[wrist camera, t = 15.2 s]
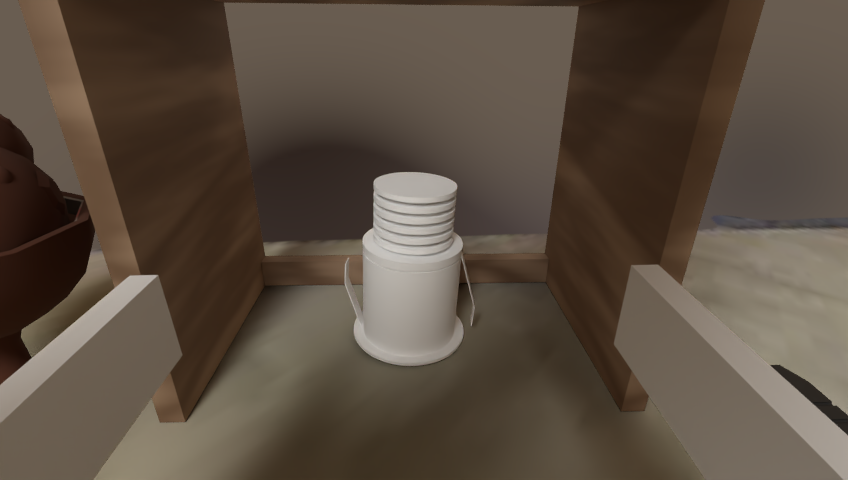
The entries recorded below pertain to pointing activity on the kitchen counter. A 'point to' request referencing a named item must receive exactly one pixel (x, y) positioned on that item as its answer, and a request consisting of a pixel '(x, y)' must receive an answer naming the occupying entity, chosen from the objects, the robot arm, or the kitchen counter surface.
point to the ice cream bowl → (34, 244)
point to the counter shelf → (251, 270)
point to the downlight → (410, 272)
